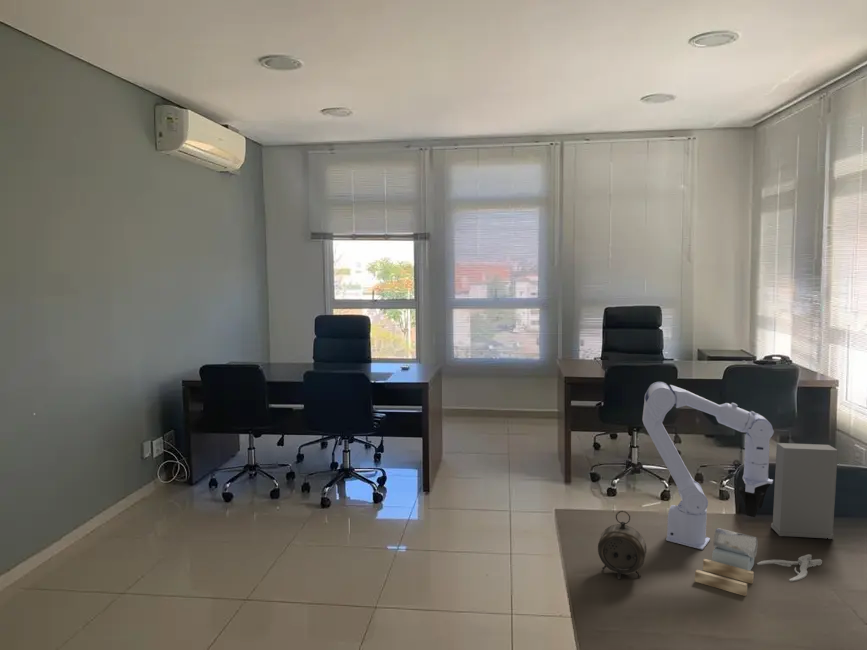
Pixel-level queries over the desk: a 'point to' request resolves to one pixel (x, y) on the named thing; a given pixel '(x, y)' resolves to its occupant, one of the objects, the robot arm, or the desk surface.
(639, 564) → the alarm clock
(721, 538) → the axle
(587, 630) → the desk surface
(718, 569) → the wooden rails
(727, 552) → the v block
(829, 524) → the tall grey box
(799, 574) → the pliers
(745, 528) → the desk surface
